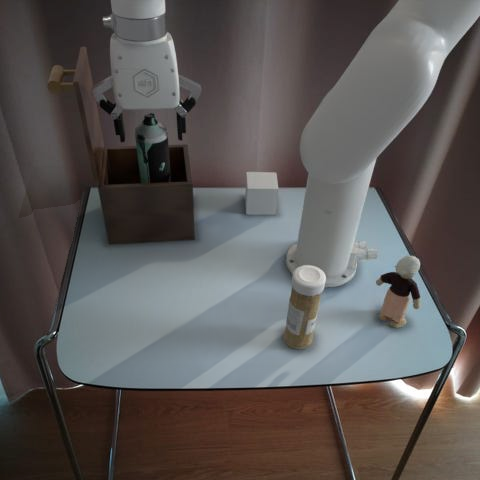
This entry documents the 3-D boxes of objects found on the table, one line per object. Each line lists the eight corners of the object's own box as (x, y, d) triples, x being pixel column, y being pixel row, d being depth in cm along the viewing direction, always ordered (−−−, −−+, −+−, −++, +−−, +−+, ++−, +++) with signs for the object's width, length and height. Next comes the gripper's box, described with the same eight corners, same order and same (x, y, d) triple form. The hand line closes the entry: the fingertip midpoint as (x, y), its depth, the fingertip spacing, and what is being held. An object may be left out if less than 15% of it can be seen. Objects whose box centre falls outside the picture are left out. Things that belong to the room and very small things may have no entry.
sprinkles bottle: (315, 347, 76) (331, 283, 66) (287, 352, 75) (298, 288, 65) (306, 326, 79) (319, 261, 69) (279, 330, 78) (288, 265, 68)
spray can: (168, 226, 94) (160, 124, 79) (141, 222, 94) (127, 120, 80) (177, 210, 97) (170, 109, 83) (150, 206, 98) (139, 105, 83)
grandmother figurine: (415, 320, 81) (441, 260, 71) (407, 334, 78) (433, 275, 69) (371, 301, 83) (391, 241, 74) (362, 315, 81) (381, 255, 72)
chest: (190, 198, 102) (187, 144, 93) (194, 239, 93) (192, 184, 84) (111, 201, 100) (102, 146, 91) (109, 244, 91) (97, 187, 82)
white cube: (246, 214, 99) (247, 188, 95) (245, 197, 103) (246, 171, 99) (276, 215, 99) (278, 188, 95) (273, 198, 103) (276, 172, 99)
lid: (85, 46, 79) (51, 47, 78) (78, 81, 70) (39, 82, 69) (103, 144, 91) (74, 145, 91) (99, 185, 82) (66, 187, 81)
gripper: (76, 35, 68) (98, 150, 81) (202, 34, 70) (204, 146, 83) (81, 17, 73) (101, 128, 86) (198, 17, 75) (200, 126, 88)
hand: (151, 137), depth 84 cm, fingers open, 9 cm apart
